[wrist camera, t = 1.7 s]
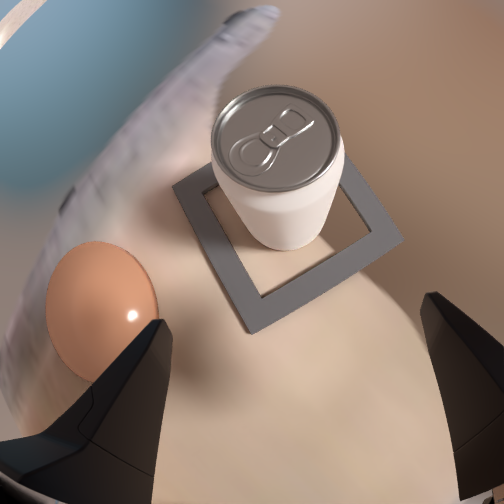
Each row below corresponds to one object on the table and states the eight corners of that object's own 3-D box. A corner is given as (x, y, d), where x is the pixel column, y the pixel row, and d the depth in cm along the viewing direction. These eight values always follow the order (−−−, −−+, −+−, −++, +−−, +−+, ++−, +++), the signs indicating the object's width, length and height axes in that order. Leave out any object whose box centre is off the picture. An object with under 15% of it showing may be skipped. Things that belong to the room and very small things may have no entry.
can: (228, 212, 24) (173, 138, 13) (285, 160, 24) (274, 60, 13) (284, 269, 23) (273, 236, 11) (341, 212, 23) (379, 134, 11)
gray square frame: (402, 241, 22) (404, 240, 21) (252, 334, 22) (251, 334, 22) (309, 112, 25) (309, 109, 24) (174, 188, 25) (171, 186, 25)
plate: (185, 348, 23) (179, 350, 22) (85, 397, 24) (77, 400, 22) (123, 217, 26) (117, 214, 25) (40, 283, 26) (32, 282, 25)
